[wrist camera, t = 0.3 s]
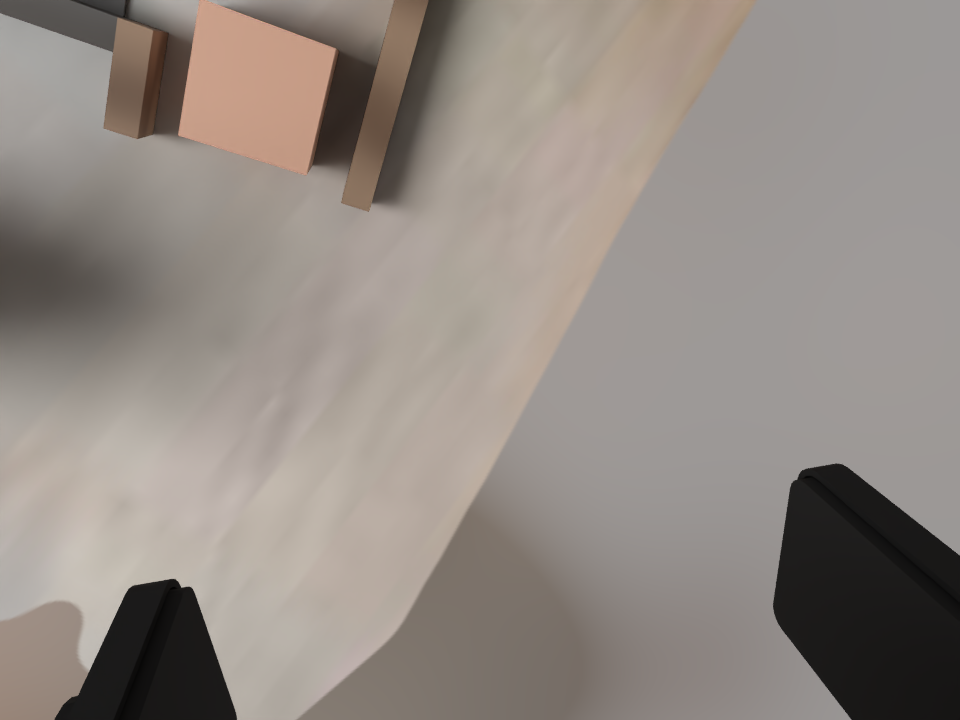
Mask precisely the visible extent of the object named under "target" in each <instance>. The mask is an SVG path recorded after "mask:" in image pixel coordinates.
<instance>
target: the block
mask: <svg viewBox="0 0 960 720" xmlns="http://www.w3.org/2000/svg"><path fill="white" fill-rule="evenodd" d="M338 54H339V51H338V50H337V49H335V48H333V47H330V46H327V45H325V44H322V43H319V42H317V41H314V40H311V39H309V38H306V37H303V36H300V35H298V34H295V33H292V32H290V31H287V30H284V29H282V28H279V27H276V26H274V25H271V24H268V23H265V22H263V21H260V20H257V19H255V18H252V17H249V16H247V15H244V14H241V13H238V12H236V11H233V10H230V9H228V8H225V7H222V6H220V5H217V4H214V3H212V2H209V1H206V0H199V7H198V13H197V19H196V25H195V32H194V38H193V44H192V51H191V57H190V63H189V70H188V76H187V82H186V88H185V95H184V101H183V107H182V114H181V120H180V126H179V132H178V136H181V137H185V138H188V139H191V140H194V141H197V142H201V143H204V144H207V145H210V146H213V147H217V148H220V149H223V150H226V151H229V152H233V153H236V154H239V155H242V156H245V157H249V158H252V159H255V160H258V161H262V162H265V163H268V164H271V165H274V166H278V167H281V168H284V169H287V170H290V171H294V172H297V173H300V174H303V175H307V174H308V172H309V170H310V168H311V167H312V164H313V160H314V156H315V152H316V147H317V143H318V139H319V135H320V130H321V126H322V122H323V117H324V113H325V109H326V105H327V100H328V96H329V92H330V88H331V83H332V79H333V75H334V71H335V66H336V62H337V58H338Z"/></svg>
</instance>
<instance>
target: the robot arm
mask: <svg viewBox="0 0 960 720" xmlns="http://www.w3.org/2000/svg"><path fill="white" fill-rule="evenodd" d="M773 609H774V614H775V617H776V620H777V622H778V624H779V625H780V627H781V629H782V630H783V631H784V633H785V634H786V635H787V637H788V638H789V639H790V640H791V642H792V643H793V644H794V646H795V647H796V648H797V649H798V651H799V652H800V653H801V655H802V656H803V657H804V659H805V660H806V661H807V662H808V664H809V665H810V666H811V668H812V669H813V670H814V672H815V673H816V674H817V675H818V677H819V678H820V679H821V681H822V682H823V683H824V684H825V686H826V687H827V688H828V690H829V691H830V692H831V694H832V695H833V696H834V697H835V699H836V700H837V701H838V703H839V704H840V705H841V706H842V708H843V709H844V710H845V712H846V713H847V714H848V715H849V717H850V718H851V719H852V720H960V556H959V555H958V554H957V553H956V552H954V551H953V550H952V549H951V548H949V547H948V546H947V545H946V544H944V543H943V542H942V541H940V540H939V539H938V538H937V537H935V536H934V535H933V534H931V533H930V532H929V531H928V530H926V529H925V528H923V526H921V525H920V524H919V523H918V522H916V521H915V520H914V519H912V518H911V517H910V516H909V515H907V514H906V513H905V512H904V511H902V510H901V509H900V508H898V507H897V506H896V505H895V504H893V503H892V502H891V501H890V500H888V499H887V498H886V497H885V496H883V495H882V494H881V493H879V492H878V491H877V490H876V489H874V488H873V487H872V486H870V485H869V484H868V483H867V482H865V481H864V480H863V479H862V478H860V477H859V476H858V475H856V474H855V473H854V472H853V471H851V470H850V469H849V468H848V467H846V466H844V465H842V464H831V465H826V466H820V467H814V468H808V469H805V470H802V471H801V473H800V474H799V477H798V480H795V481H793V483H792V484H791V487H790V493H789V500H788V507H787V513H786V520H785V527H784V534H783V540H782V547H781V555H780V561H779V568H778V574H777V581H776V588H775V595H774V603H773ZM55 720H237V717H236V712H235V709H234V706H233V703H232V700H231V697H230V694H229V691H228V688H227V685H226V682H225V680H224V677H223V674H222V671H221V668H220V665H219V662H218V659H217V656H216V653H215V651H214V648H213V645H212V642H211V639H210V636H209V633H208V630H207V627H206V624H205V621H204V619H203V616H202V613H201V610H200V607H199V604H198V601H197V598H196V595H195V593H194V591H193V589H192V588H191V587H184V588H181V586H180V584H179V582H178V581H177V580H176V579H169V580H163V581H158V582H152V583H146V584H140V585H135V586H132V587H131V588H129V589H128V591H127V593H126V594H125V596H124V598H123V600H122V603H121V605H120V607H119V609H118V611H117V613H116V615H115V618H114V620H113V622H112V624H111V626H110V628H109V630H108V633H107V635H106V637H105V639H104V641H103V643H102V645H101V648H100V650H99V652H98V654H97V656H96V658H95V661H94V663H93V665H92V667H91V669H90V671H89V673H88V676H87V678H86V680H85V682H84V684H83V686H82V688H81V691H80V693H79V695H78V696H75V697H72V698H70V699H69V700H68V701H67V702H66V703H65V704H64V705H63V706H62V708H61V710H60V711H59V713H58V714H57V716H56V718H55Z"/></svg>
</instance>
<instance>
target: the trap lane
mask: <svg viewBox="0 0 960 720" xmlns="http://www.w3.org/2000/svg"><path fill="white" fill-rule="evenodd" d="M428 1H429V0H394V4H393V8H392V11H391V15H390V19H389V23H388V26H387V30H386V34H385V38H384V42H383V45H382V49H381V53H380V57H379V60H378V64H377V68H376V72H375V76H374V79H373V83H372V87H371V91H370V94H369V98H368V102H367V106H366V109H365V113H364V117H363V121H362V125H361V128H360V132H359V136H358V140H357V143H356V147H355V151H354V155H353V159H352V162H351V166H350V170H349V174H348V177H347V181H346V185H345V189H344V193H343V197H342V202H341V203H343V204H346V205H349V206H352V207H356V208H359V209H362V210H365V211H368V212H369V210H370V207H371V203H372V199H373V196H374V192H375V189H376V185H377V182H378V178H379V175H380V171H381V168H382V164H383V160H384V157H385V153H386V150H387V146H388V143H389V139H390V136H391V132H392V129H393V125H394V121H395V118H396V114H397V111H398V107H399V104H400V100H401V97H402V93H403V90H404V86H405V82H406V79H407V75H408V72H409V68H410V65H411V61H412V58H413V54H414V51H415V47H416V44H417V40H418V36H419V33H420V29H421V26H422V22H423V19H424V15H425V12H426V8H427V5H428ZM126 3H127V0H0V13H2V14H5V15H8V16H10V17H13V18H16V19H19V20H22V21H25V22H28V23H31V24H34V25H36V26H39V27H42V28H45V29H48V30H51V31H54V32H57V33H60V34H63V35H65V36H68V37H71V38H74V39H77V40H80V41H83V42H86V43H89V44H91V45H94V46H97V47H100V48H103V49H106V50H109V51H112V52H113V57H112V65H111V73H110V81H109V89H108V97H107V104H106V112H105V120H104V129H107V130H110V131H113V132H116V133H120V134H123V135H126V136H129V137H132V138H136V139H139V138H142V137H146V136H149V135H153V130H154V124H155V117H156V111H157V104H158V98H159V91H160V85H161V79H162V72H163V66H164V59H165V53H166V46H167V40H168V33H167V32H164V31H161V30H159V29H156V28H153V27H150V26H148V25H145V24H142V23H139V22H136V21H134V20H131V19H128V18H125V10H126Z"/></svg>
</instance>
